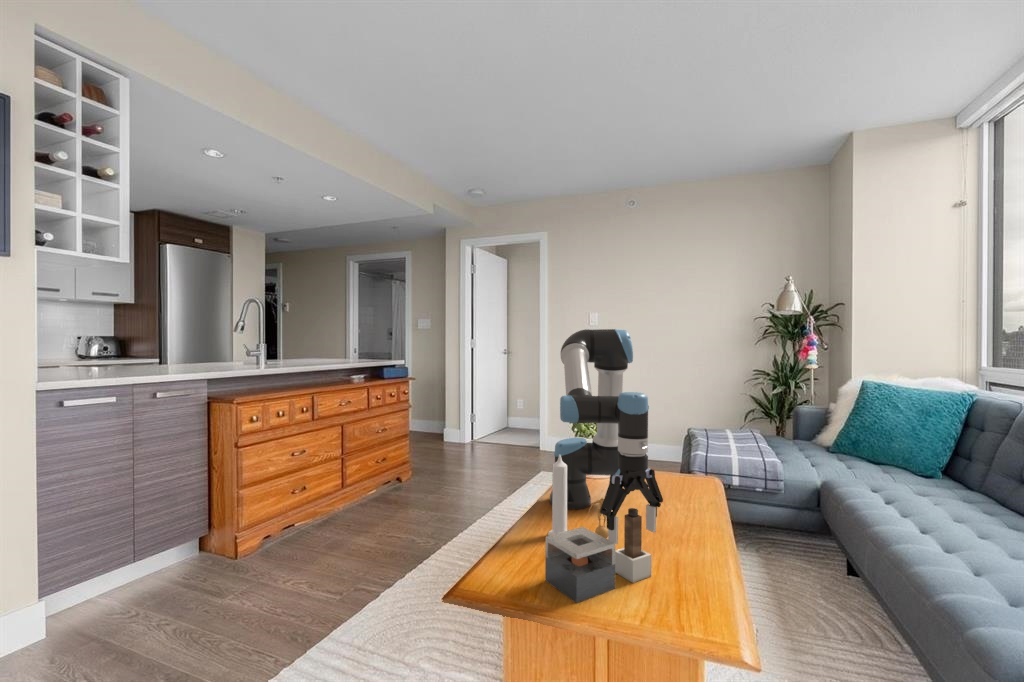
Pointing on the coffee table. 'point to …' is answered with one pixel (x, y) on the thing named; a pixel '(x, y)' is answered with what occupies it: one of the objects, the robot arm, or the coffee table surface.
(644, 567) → the pen cup
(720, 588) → the coffee table surface
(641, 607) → the coffee table surface
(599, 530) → the figurine
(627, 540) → the wood knob block
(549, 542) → the grey box with hole
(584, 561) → the button
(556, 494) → the candle
